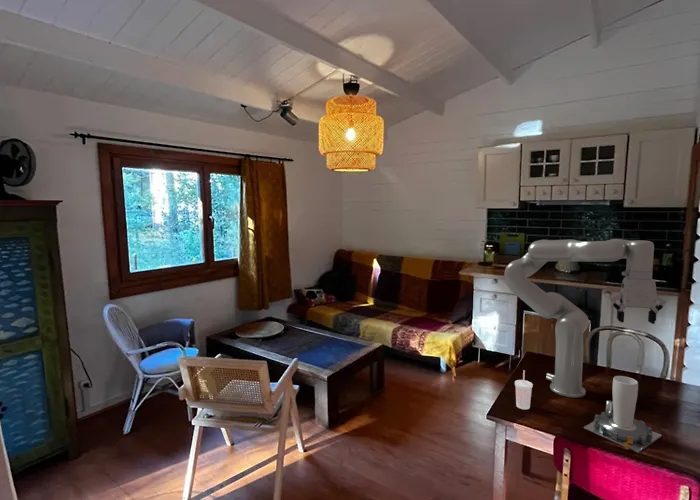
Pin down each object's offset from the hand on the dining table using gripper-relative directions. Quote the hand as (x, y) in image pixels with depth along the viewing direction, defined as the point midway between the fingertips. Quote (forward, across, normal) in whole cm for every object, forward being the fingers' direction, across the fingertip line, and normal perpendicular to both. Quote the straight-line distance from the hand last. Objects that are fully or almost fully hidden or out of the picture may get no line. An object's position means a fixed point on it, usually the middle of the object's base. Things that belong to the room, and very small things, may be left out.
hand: (635, 322), depth 141 cm
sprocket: (+32, -10, -18) cm, 38 cm away
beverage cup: (+32, -38, -7) cm, 51 cm away
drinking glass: (+30, -10, -18) cm, 36 cm away
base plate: (+32, -10, -18) cm, 38 cm away
